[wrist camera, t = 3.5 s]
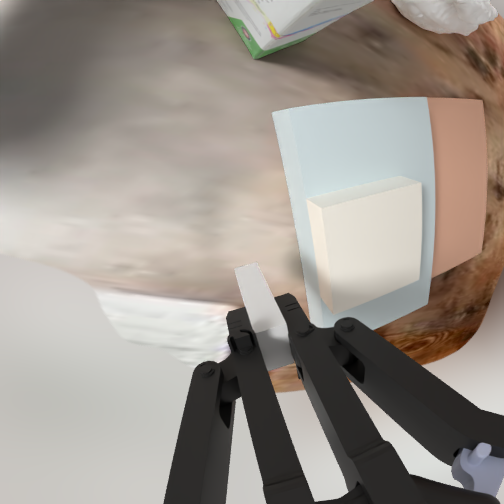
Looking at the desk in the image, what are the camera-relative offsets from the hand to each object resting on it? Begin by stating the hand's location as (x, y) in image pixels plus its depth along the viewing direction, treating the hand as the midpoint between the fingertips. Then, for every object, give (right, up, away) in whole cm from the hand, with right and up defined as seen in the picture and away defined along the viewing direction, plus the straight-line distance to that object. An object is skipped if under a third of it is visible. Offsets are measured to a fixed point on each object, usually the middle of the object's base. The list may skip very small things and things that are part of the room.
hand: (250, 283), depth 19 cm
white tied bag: (+16, +26, -2) cm, 30 cm away
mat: (+22, +9, +7) cm, 25 cm away
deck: (+10, +5, +6) cm, 12 cm away
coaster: (+8, +3, +2) cm, 9 cm away
